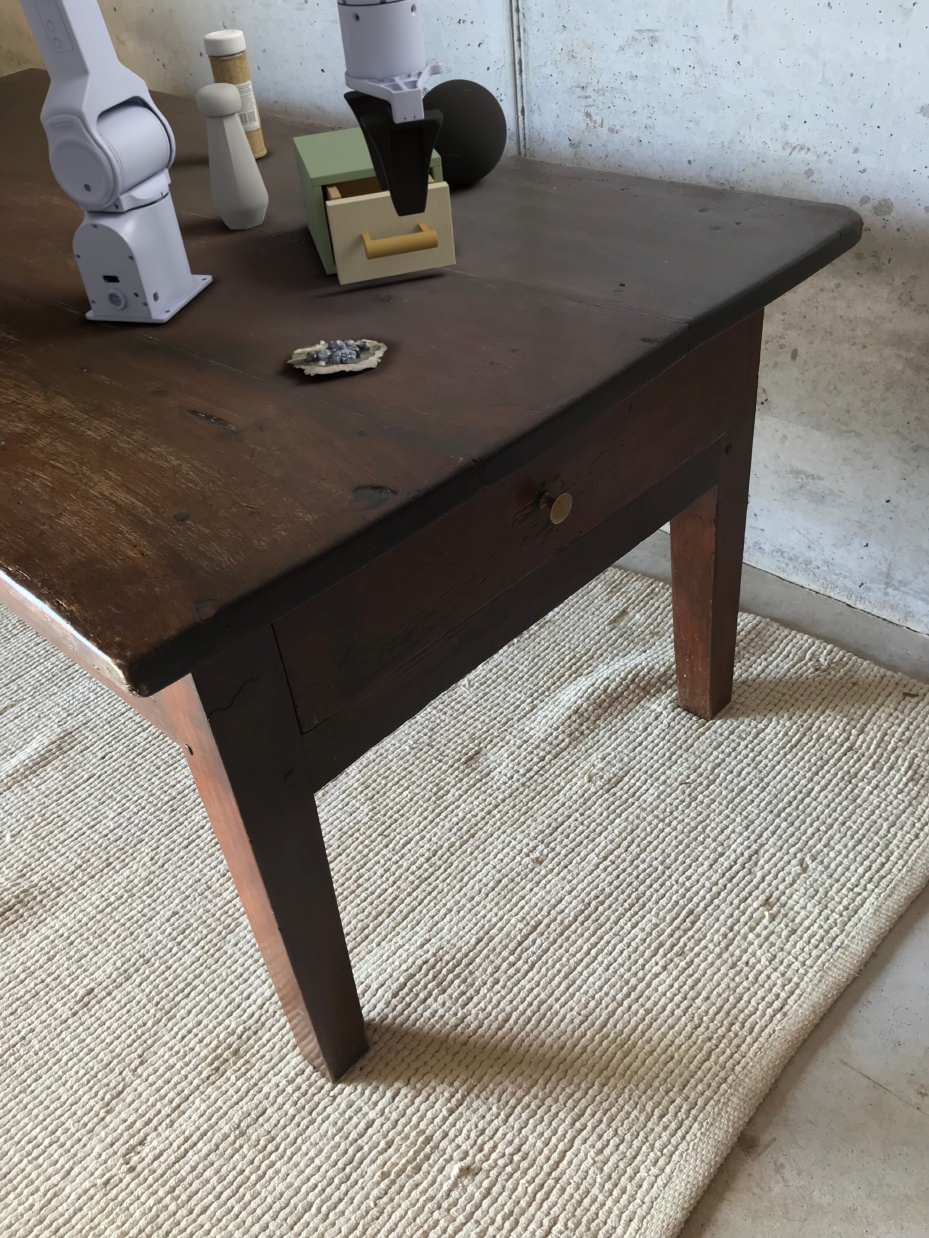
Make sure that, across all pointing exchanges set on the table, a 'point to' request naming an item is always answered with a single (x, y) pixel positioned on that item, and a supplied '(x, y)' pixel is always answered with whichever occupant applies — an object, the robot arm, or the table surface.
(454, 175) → the black sphere
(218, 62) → the sprinkles bottle
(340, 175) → the cabinet
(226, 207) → the salt shaker
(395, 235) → the drawer
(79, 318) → the table surface
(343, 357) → the blueberries
